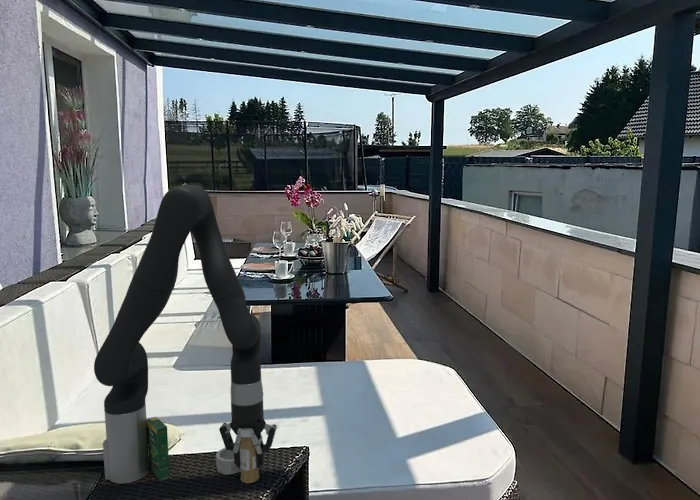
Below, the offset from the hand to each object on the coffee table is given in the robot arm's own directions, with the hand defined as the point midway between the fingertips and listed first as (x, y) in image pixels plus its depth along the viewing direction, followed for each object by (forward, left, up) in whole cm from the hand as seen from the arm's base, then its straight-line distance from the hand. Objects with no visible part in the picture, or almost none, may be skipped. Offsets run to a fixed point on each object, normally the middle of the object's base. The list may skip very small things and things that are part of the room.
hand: (249, 465), depth 124 cm
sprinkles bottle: (0, 0, -3) cm, 3 cm away
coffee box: (-23, +1, -3) cm, 24 cm away
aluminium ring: (-6, +5, -3) cm, 9 cm away
